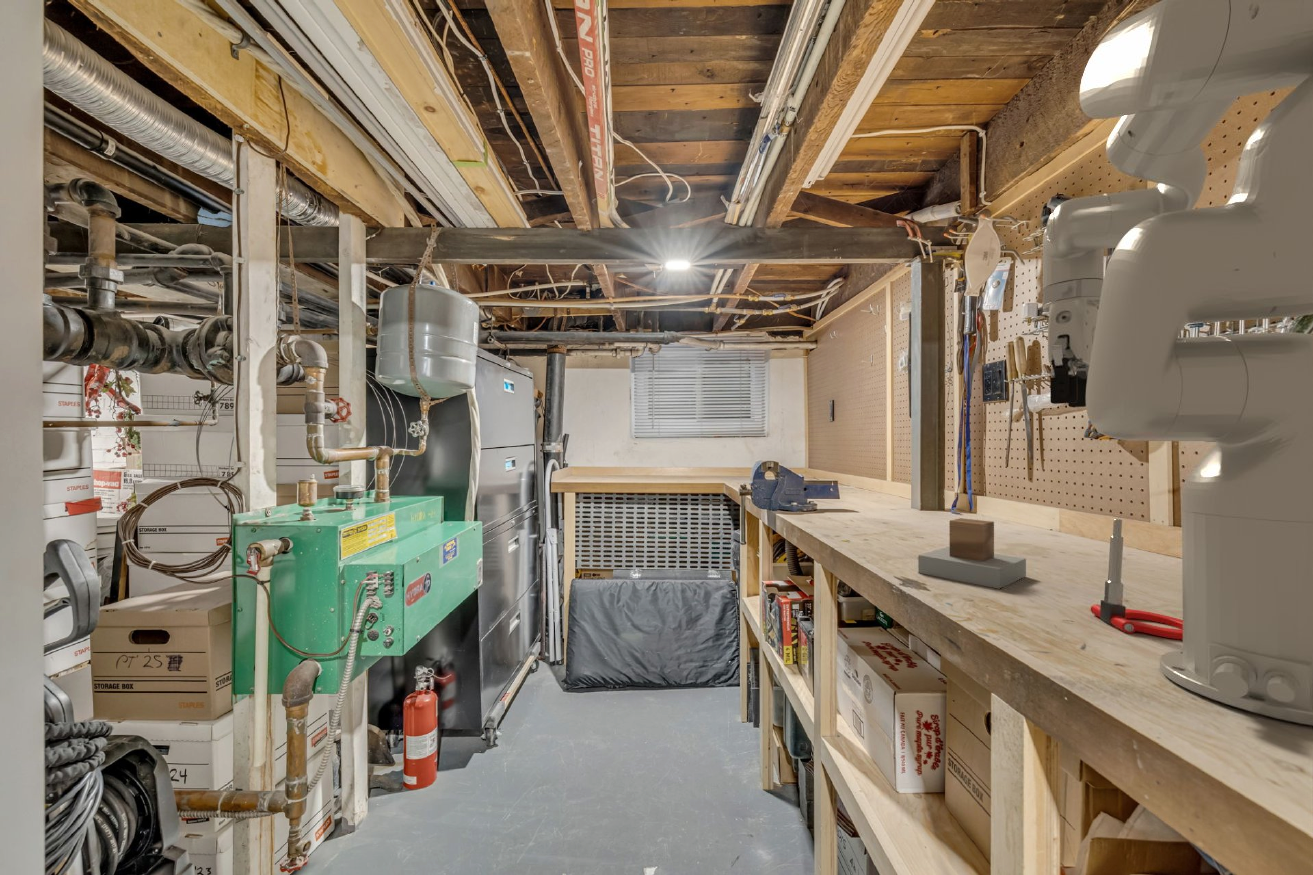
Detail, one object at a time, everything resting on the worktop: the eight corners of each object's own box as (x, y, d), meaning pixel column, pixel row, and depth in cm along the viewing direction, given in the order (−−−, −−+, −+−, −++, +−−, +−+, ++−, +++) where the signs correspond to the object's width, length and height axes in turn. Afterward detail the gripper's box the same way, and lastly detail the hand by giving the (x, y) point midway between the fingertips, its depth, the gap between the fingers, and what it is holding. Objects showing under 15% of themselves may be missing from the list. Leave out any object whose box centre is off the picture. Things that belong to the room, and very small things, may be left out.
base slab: (999, 589, 77) (999, 569, 77) (918, 572, 86) (918, 555, 86) (1025, 576, 84) (1025, 558, 84) (948, 563, 94) (948, 546, 94)
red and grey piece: (1172, 623, 64) (1085, 612, 66) (1178, 521, 64) (1090, 514, 66) (1227, 649, 56) (1125, 636, 58) (1234, 532, 56) (1131, 524, 58)
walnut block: (982, 561, 82) (982, 524, 82) (949, 556, 86) (949, 520, 86) (994, 557, 85) (994, 521, 85) (961, 552, 89) (961, 518, 89)
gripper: (1088, 280, 72) (1089, 400, 72) (1115, 302, 83) (1116, 406, 83) (1026, 292, 78) (1026, 403, 78) (1058, 311, 89) (1059, 408, 89)
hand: (1072, 404), depth 81 cm, fingers open, 9 cm apart
